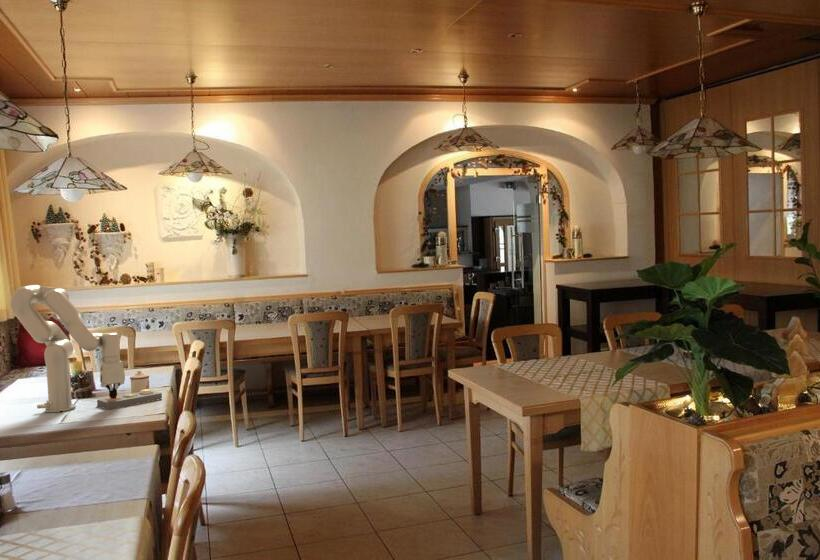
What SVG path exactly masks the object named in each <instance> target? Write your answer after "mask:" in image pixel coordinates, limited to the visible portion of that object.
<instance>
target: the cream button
mask: <svg viewBox="0 0 820 560" xmlns="http://www.w3.org/2000/svg"><path fill="white" fill-rule="evenodd" d="M151 390H152V389H151V388H149V389H144V390H141V391H140V393H141V395H146V394H152V393H151Z"/></svg>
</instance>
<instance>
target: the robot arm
mask: <svg viewBox="0 0 820 560" xmlns="http://www.w3.org/2000/svg"><path fill="white" fill-rule="evenodd" d="M33 304H40V305H46V306H48V308H49V309H50V310H51V312H52V313H53V314H54V315H55V316H56V317H57V318H58V319H59V320H60V321H61V323H62V324H63V326H64V327H65V329H66V330H67V332H68V333H69V335H70V336H71V338H72V339H73V341H74V342H76V344H77V345H79V347H80V348H81V349H82V350H84V351H85V352H94V351H95V350H97V349H101V358H99V362H100V363H101V364H100V370H99V381H100V387H101V388H106V389H107V390H108V395H109V397H110V398H112V399H114V398H116V396H118V389H119V387H120V386H121V385H124V384H125V381H126V377H125V376H126V375H125V368H124V364H123V360H121V354H120V353H121V352H120V336H119V333H118V332H104V333H102V332H100V333H99V332H92V333H91V331H90V330H89V329H88V327H86V325H85V323H84V322H83V319H82V318H83V317H82V314H81V312H80V310H79V309H78V308H77V307H76V306H75V305H74V304H73V303H72V302H71V300H70V297H69V293H68V292H67V291H66V289H63V288H59V287H52V286H44V285H38V284H29V285H23V286H21V287H18V288H17V289H16V290H14V292H13V294H12V296H11V298H10V307H11V311H12V313H13V314H14V316H15V317H16V318H17V320H18V321H19V322H20V324H21V325H22V326H23V328H24V329H25V330H26V332H28V334H29V335H30V336H31V338H32V340H33V341H35V342H36V343H39V344H45V346H46V348H45V350H44V354H43V355H44V356H43V357H44V363H45V370H46V381H47V396H48V400H46V401H45V402H44V403H40V404H37V405H36V409H38V410H39V409H44V411H45V412H46V413H61V412H60V411H63V412H68V411H71V410H74V409H75V408H76V406H77V405H75V404H73V401H72V390H71V389H72V388H71V385H72V384H71V372H70V371H71V369H70V362H69V358H70V356H72V355H73V352H74V345H73V343H72V342H71V340H70V339H69V337H68V336H67V334H65V332H64V331H63V330H62V329H61V327H60V326H59V325H58V324H57V323H55V322H53V321H50V320H46V319H45V318H44V317H43V316H42V314H40V312H39V311H38V310H37V309H36V308H35V307H34V306H33ZM67 410H68V411H67Z"/></svg>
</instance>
